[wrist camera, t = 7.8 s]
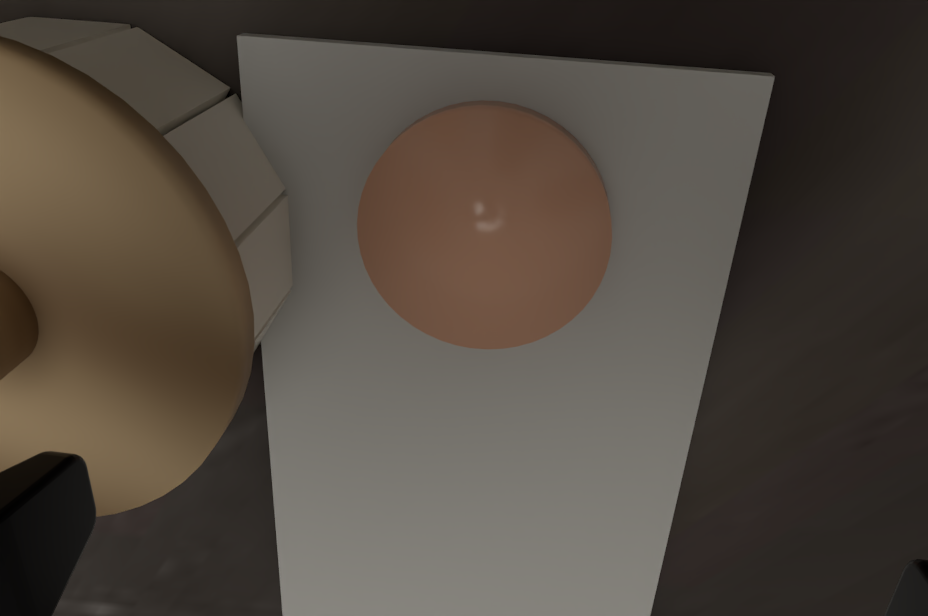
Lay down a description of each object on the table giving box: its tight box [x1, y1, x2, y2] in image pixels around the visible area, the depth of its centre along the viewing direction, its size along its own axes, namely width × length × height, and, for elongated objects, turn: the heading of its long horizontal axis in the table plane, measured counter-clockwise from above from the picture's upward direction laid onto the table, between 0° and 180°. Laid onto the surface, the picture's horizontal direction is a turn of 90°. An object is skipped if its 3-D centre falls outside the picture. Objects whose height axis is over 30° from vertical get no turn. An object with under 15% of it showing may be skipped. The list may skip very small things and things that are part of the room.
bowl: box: [0, 17, 293, 351], centre depth 19 cm, size 10×10×4 cm
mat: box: [237, 33, 775, 616], centre depth 22 cm, size 12×20×1 cm, turn 177°
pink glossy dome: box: [357, 100, 612, 349], centre depth 19 cm, size 6×6×1 cm
